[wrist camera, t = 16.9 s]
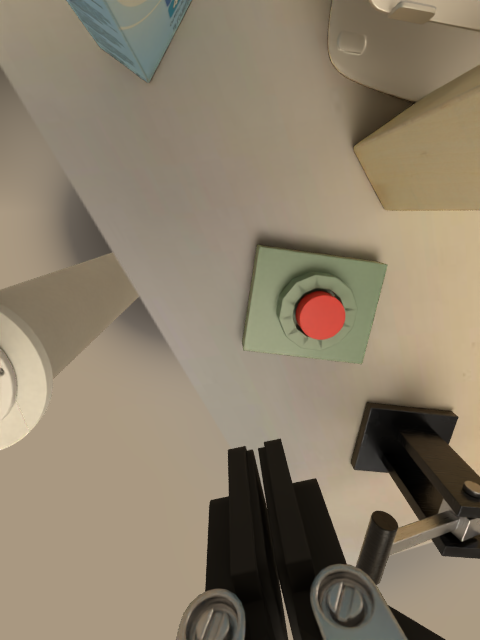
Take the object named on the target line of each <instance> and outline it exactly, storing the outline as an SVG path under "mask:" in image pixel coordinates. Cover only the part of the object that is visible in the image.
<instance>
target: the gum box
mask: <svg viewBox="0 0 480 640" xmlns="http://www.w3.org/2000/svg"><path fill="white" fill-rule="evenodd" d="M66 1H67V2H68V4H69V5H70V6H71V8H72V9H73V11H74V12H75V13H76V15H77V16H78V18H79V19H80V20H81V22H82V23H83V25H84V26H85V27H86V29H87V30H88V32H89V33H90V34H91V36H92V37H93V39H94V40H95V41H96V43H97V44H98V45H99V47H100V48H101V49H103V50H104V51H106V52H107V53H108V54H110V55H111V56H112V57H114V58H115V59H116V60H118V61H119V62H120V63H122V64H123V65H124V66H126V67H127V68H128V69H130V70H131V71H132V72H134V73H135V74H136V75H138V76H139V77H140V78H142V79H143V80H145V81H146V82H147V83H149V82H150V80H151V78H152V76H153V74H154V72H155V70H156V69H157V67H158V65H159V63H160V61H161V59H162V57H163V55H164V53H165V51H166V49H167V47H168V46H169V44H170V42H171V40H172V38H173V36H174V34H175V32H176V30H177V28H178V26H179V24H180V22H181V20H182V18H183V16H184V14H185V12H186V10H187V8H188V6H189V4H190V2H191V0H66Z"/></svg>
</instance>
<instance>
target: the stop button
mask: <svg viewBox="0 0 480 640" xmlns="http://www.w3.org/2000/svg"><path fill="white" fill-rule="evenodd" d="M296 320H297V322H298V324H299V326H300V327H301V329H302V330H303V332H304V333H305V334H306V335H307V336H309V337H311V338H313V339H317V340H324V339H328V338H331V337H333V336H334V335H336V334H337V333H338V332H339V331H340V330H341V328H342V327H343V325H344V322H345V309H344V307H343V305H342V303H341V302H340V301H339V300H338V299H336V298H335V297H334V296H332V295H331V294H329V293H327V292H323V291H315V292H311V293H309V294H307V295H306V296H304V297H303V298H302V299H301V300H300V302H299V303H298V305H297V308H296Z"/></svg>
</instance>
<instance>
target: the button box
mask: <svg viewBox="0 0 480 640" xmlns="http://www.w3.org/2000/svg"><path fill="white" fill-rule="evenodd" d="M386 269H387V264H384V263H381V262H377V261H370V260H363V259H356V258H349V257H342V256H335V255H328V254H321V253H314V252H307V251H300V250H293V249H285V248H278V247H271V246H264V245H257V248H256V255H255V261H254V268H253V274H252V281H251V288H250V294H249V301H248V307H247V314H246V320H245V327H244V333H243V340H242V345H243V350H245V351H254V352H262V353H271V354H279V355H288V356H297V357H305V358H314V359H322V360H331V361H339V362H348V363H357V364H362V362H363V358H364V354H365V350H366V347H367V343H368V339H369V335H370V331H371V327H372V323H373V319H374V316H375V312H376V308H377V304H378V300H379V296H380V292H381V288H382V284H383V281H384V277H385V273H386ZM315 291H323V292H327V293H329V294H331V295H332V296H334V297H335V298H336V299H338V300H339V301H340V302H341V303H342V305H343V307H344V309H345V322H344V325H343V327H342V328H341V330H340V331H339V332H338V333H337V334H336V335H334V336H333V337H331V338H328V339H324V340H317V339H313V338H311V337H309V336H307V335H306V334H305V333H304V332H303V330H302V329H301V327H300V326H299V324H298V322H297V320H296V308H297V305H298V303H299V302H300V300H301V299H302V298H303V297H304V296H306V295H307V294H309V293H311V292H315Z"/></svg>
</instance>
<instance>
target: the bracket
mask: <svg viewBox="0 0 480 640" xmlns="http://www.w3.org/2000/svg"><path fill="white" fill-rule="evenodd" d="M457 419H458V416H457V415H455V414H454V413H453V412H452V411H443V410H434V409H424V408H415V407H406V406H397V405H387V404H378V403H369V402H367V405H366V408H365V412H364V416H363V419H362V423H361V427H360V430H359V434H358V438H357V441H356V445H355V449H354V453H353V456H352V460H351V464H352V466H353V468H354V470H363V471H374V472H385V473H389V474H390V475H391V477H392V479H393V480H394V482H395V483H396V485H397V486H398V488H399V489H400V491H401V493H402V494H403V496H404V497H405V499H406V500H407V502H408V503H409V505H410V507H411V508H412V510H413V511H414V513H415V514H416V516H417V517H418V519H419V520H422V519H425V518H428V517H431V516H434V515H437V514H438V512H439V509H440V506H441V504H442V501H443V499H444V500H445V501H446V502H447V504H448V505H449V506H450V508H451V509H452V510H453V511H454V513H455V514H456V515H457V516H458V517H468V518H480V477H479V476H478V475H477V474H476V473H475V472H474V471H473V469H472V468H471V467H470V466H469V465H468V464H467V463H466V462H465V461H464V460H463V459H462V458H461V457H460V456H459V455H458V454H457V453H456V452H455V451H454V450H453V449H452V448H451V447H450V446H449V442H450V439H451V436H452V434H453V431H454V428H455V425H456V422H457ZM432 541H433V542H434V544H435V545H436V547H437V549H438V550H439V552H440V553H441V555H442V556H451V557H464V558H478V559H480V534H479V535H477V536H474V537H472V538H469V539H467V540H465V541H460V540H459V539H458V538H457V537H456V536H455V535H454V534H452V533H451V532H448V533H445V534H443V535H440V536H437V537H435V538H432Z"/></svg>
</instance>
